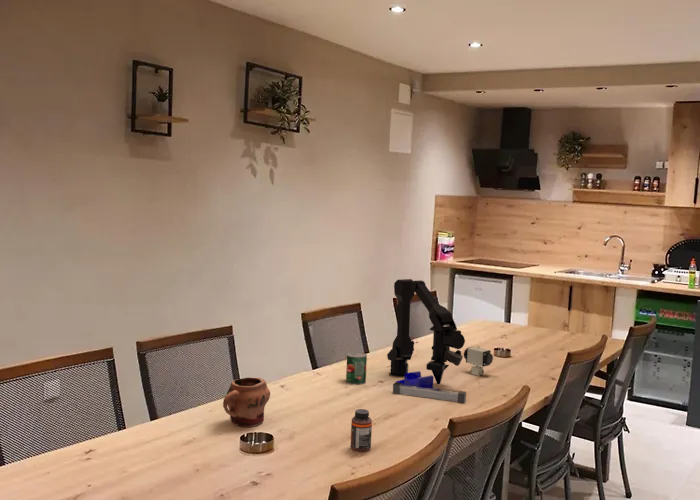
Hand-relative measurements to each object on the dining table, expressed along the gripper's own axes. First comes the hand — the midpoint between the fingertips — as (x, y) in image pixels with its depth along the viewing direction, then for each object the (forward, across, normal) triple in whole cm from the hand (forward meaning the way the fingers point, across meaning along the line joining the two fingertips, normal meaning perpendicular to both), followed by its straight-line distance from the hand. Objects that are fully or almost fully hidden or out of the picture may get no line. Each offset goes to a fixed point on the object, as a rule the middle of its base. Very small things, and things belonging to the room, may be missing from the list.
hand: (438, 383), depth 266 cm
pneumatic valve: (+3, +31, -10) cm, 32 cm away
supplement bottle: (+3, -71, +7) cm, 72 cm away
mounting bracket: (+3, -2, +7) cm, 8 cm away
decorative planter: (+3, -67, +47) cm, 82 cm away
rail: (+2, -11, +1) cm, 11 cm away
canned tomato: (+2, -4, +32) cm, 32 cm away
